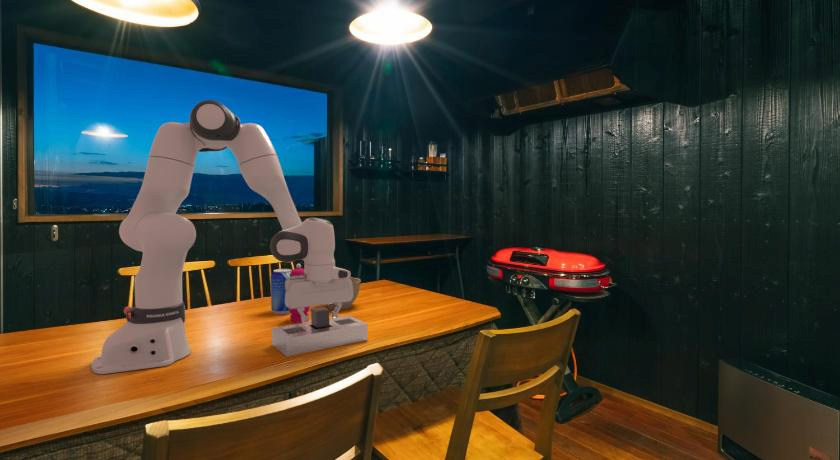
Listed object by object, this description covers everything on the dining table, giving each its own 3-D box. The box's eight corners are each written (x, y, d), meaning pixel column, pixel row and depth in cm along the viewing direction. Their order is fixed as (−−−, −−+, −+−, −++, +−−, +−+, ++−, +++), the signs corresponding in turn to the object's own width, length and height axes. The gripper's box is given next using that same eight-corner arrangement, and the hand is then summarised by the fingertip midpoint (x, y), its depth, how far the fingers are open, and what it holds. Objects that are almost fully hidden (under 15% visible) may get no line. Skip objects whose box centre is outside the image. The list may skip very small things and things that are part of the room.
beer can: (299, 311, 172) (298, 269, 171) (282, 316, 165) (281, 272, 164) (284, 308, 176) (283, 267, 175) (266, 313, 169) (265, 270, 168)
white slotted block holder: (286, 356, 123) (286, 338, 122) (272, 344, 132) (272, 328, 132) (367, 340, 137) (367, 323, 137) (349, 330, 147) (349, 315, 147)
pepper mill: (304, 323, 156) (303, 265, 154) (285, 322, 157) (283, 264, 156) (313, 317, 163) (312, 262, 161) (294, 316, 164) (293, 261, 163)
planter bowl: (357, 312, 171) (357, 283, 170) (314, 312, 171) (314, 283, 170) (363, 302, 187) (363, 276, 186) (324, 302, 187) (324, 276, 186)
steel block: (316, 345, 132) (316, 311, 131) (311, 341, 135) (311, 308, 135) (329, 342, 134) (329, 309, 134) (324, 339, 138) (323, 307, 137)
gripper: (288, 277, 125) (289, 327, 125) (355, 271, 136) (355, 316, 137) (281, 274, 130) (281, 322, 131) (346, 268, 141) (346, 312, 142)
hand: (320, 319), depth 134 cm, fingers open, 8 cm apart
